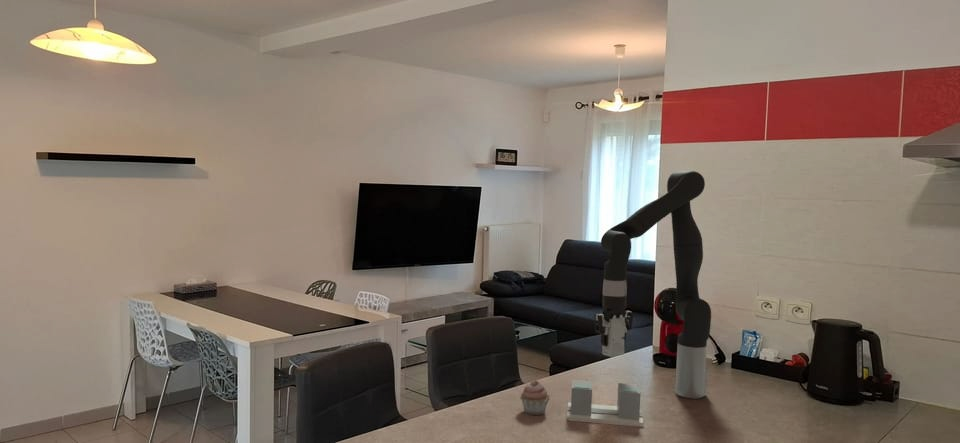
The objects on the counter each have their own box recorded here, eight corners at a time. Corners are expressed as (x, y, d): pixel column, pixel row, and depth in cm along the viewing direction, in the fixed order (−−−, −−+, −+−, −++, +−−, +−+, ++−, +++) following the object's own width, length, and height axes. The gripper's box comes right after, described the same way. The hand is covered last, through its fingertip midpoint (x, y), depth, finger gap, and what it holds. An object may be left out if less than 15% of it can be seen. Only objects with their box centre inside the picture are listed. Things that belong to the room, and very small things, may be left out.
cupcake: (515, 414, 189) (516, 382, 188) (524, 404, 198) (524, 373, 197) (545, 419, 186) (546, 386, 185) (552, 408, 194) (554, 377, 194)
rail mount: (639, 411, 194) (641, 382, 193) (643, 426, 182) (644, 395, 181) (568, 405, 197) (569, 376, 196) (567, 420, 185) (568, 389, 185)
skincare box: (611, 357, 198) (612, 319, 197) (601, 354, 202) (602, 317, 201) (625, 354, 201) (626, 317, 201) (614, 351, 205) (615, 314, 204)
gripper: (625, 289, 207) (623, 339, 208) (589, 292, 200) (588, 344, 202) (640, 293, 200) (638, 345, 201) (603, 297, 194) (602, 350, 195)
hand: (613, 344), depth 201 cm, fingers closed on skincare box, 6 cm apart
